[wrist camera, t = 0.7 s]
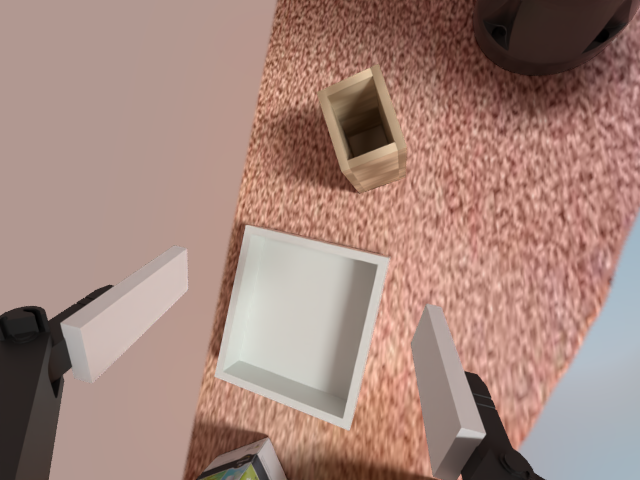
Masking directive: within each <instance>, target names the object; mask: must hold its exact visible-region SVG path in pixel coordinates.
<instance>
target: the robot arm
mask: <svg viewBox="0 0 640 480" xmlns="http://www.w3.org/2000/svg"><path fill="white" fill-rule="evenodd" d="M639 7H640V0H476V4H475V7H474V13H473V28H474V33H475V37H476V40H477V42H478V44H479V46H480V48H481V49H482V51H483V52H484V53H485V55H486V56H487V57H488V58H489V59H490V60H492V61H493V62H494V63H495V64H497V65H499V66H500V67H502V68H504V69H506V70H509V71H512V72H515V73H519V74H524V75H549V74H555V73H560V72H563V71H567V70H569V69H572V68H575V67H577V66H579V65H581V64H583V63H585V62H587V61H588V60H590V59H591V58H593V57H595V56H596V55H597V54H599V53H600V52H601V51H602V50H603V49H605V48H606V47H607V46H608V45H609V44H610V43H611V42H612V41H613V40H614V39H615V38H616V37H617V36H618V35H619V34H620V33H621V32H622V31H623V30H624V29H625V27H626V26H627V25H628V24H629V22H630V21H631V20H632V18H633V17H634V15H635V14H636V12H637V10H638V9H639ZM187 263H188V260H187V248H184V247H179V246H175V245H174V246H172V247H171V248H169V249H168V250H167V251H165V252H164V253H162V254H161V255H159V256H158V257H156V258H155V259H153V260H152V261H150V262H149V263H148V264H146V265H145V266H143V267H142V268H140V269H139V270H137V271H136V272H134V273H133V274H132V275H130V276H128V277H127V278H126V279H124V280H123V281H121V282H120V283H118V284H117V285H115V286H112V285H108V286H105V287H102V288H100V289H97V290H95V291H94V292H92V293H90V294H89V295H87V296H86V297H85V298H83V299H81V300H80V301H78V302H77V304H74V305H72V306H71V307H69V308H68V309H66V310H64V311H63V312H61V313H60V314H58V315H57V316H55V317H54V318H52V319H51V320H49V321H48V320H47V316H46V312H45V310H44V309H43V308H41V307H37V306H26V307H21V308H16V309H13V310H10V311H8V312H5V313H4V314H2V315H1V316H0V480H49V473H50V467H51V461H52V455H53V448H54V442H55V436H56V429H57V423H58V417H59V410H60V404H61V398H62V392H63V385H64V378H63V374H64V373H65V372H67V371H68V370H69V369H70V368H71V367H72V371H73V375H74V378H75V379H79V380H82V381H86V382H89V383H93V382H94V381H95V380H96V379H97V378H98V377H99V376H100V375H101V374H102V373H103V372H104V371H105V370H106V369H108V368H109V367H110V365H112V364H113V363H114V362H115V361H116V359H118V358H119V357H120V356H121V355H122V354H123V353H124V352H125V351H126V350H127V349H128V348H129V347H130V346H131V345H132V344H133V343H134V342H135V341H136V340H137V339H138V338H139V337H140V336H141V335H142V334H143V333H144V332H145V331H146V330H147V329H148V328H149V327H150V326H152V325H153V324H154V323H155V322H156V321H157V320H158V319H159V318H160V317H161V316H162V315H163V314H164V313H165V312H166V311H167V310H168V309H169V308H170V307H171V306H172V305H173V304H174V303H175V302H176V301H177V300H178V299H179V298H180V297H181V296H182V295H183V294H184V293H185V292H186V291H187V290H188V264H187ZM411 348H412V354H413V360H414V366H415V372H416V378H417V384H418V390H419V396H420V402H421V408H422V414H423V420H424V426H425V432H426V438H427V444H428V450H429V456H430V462H431V468H432V474H433V477H436V478H439V479H443V480H457V479H458V477H459V476H460V474H461V475H462V479H463V480H545V479H543V478H542V477H540V476H538V475H537V474H535V473H534V471H533V469H532V467H531V466H530V464H529V463H528V461H527V460H526V459H525V458H524V457H523V456H522V455H521V454H520V453H519V452H517V451H516V450H514V449H513V448H512V446H511V444H510V441H509V439H508V436H507V434H506V432H505V429H504V427H503V424H502V422H501V420H500V417H499V415H498V412H497V410H495V405H494V403H493V400H491V396H490V393H489V391H488V388H487V386H486V385H485V383H484V382H483V381H482V380H481V378H480V377H479V376H478V375H477V374H474V373H470V372H466V371H464V370H463V367H462V364H461V361H460V359H459V356H458V353H457V350H456V347H455V344H454V342H453V339H452V336H451V333H450V330H449V327H448V325H447V322H446V319H445V316H444V313H443V310H442V308H441V307H439V306H435V305H430V304H426V306H425V308H424V311H423V314H422V316H421V319H420V321H419V324H418V326H417V329H416V331H415V334H414V337H413V339H412V342H411Z"/></svg>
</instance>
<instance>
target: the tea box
mask: <svg viewBox="0 0 640 480" xmlns="http://www.w3.org/2000/svg"><path fill="white" fill-rule="evenodd" d="M196 480H287V478H286V476H285V474H284V471H283V469H282V467H281V464H280V462H279V460H278V458H277V455H276V453H275V450H274V448H273V446H272V443H271V441H270V439H269V437H267V438H264V439H261V440H259V441H257V442H254V443H252V444H249V445H246V446H243V447H241V448H238V449H236V450H233V451H230V452H227V453H225V454H222V455H220V456H218V457H217V458H215V459H214V460H213V461H212V462H211V463H210V465H209V466H208V467H207V468H206V469H205V470H204V471H203V472H202V474H201V475H200V476H199V477H198V478H197V479H196Z"/></svg>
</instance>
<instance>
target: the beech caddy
mask: <svg viewBox="0 0 640 480" xmlns="http://www.w3.org/2000/svg"><path fill="white" fill-rule="evenodd" d="M317 95H318V98H319V102H320V105H321V108H322V111H323V114H324V118H325V121H326V124H327V127H328V130H329V134H330V137H331V140H332V143H333V146H334V150H335V153H336V156H337V159H338V162H339V166H340V169H341V172H342V173H343V174H344V176H345V177H346V178H347V179H348V180H349V181H350V183H351V184H352V185H353V186H354V187H355V189H356V190H357V191H358V192H359V193H363V192H366V191H369V190H372V189H374V188H377V187H380V186H383V185H386V184H389V183H391V182H394V181H397V180H400V179H403V178H405V177H406V157H407V146H406V143H405V140H404V137H403V134H402V131H401V128H400V125H399V122H398V119H397V116H396V113H395V110H394V107H393V104H392V102H391V99H390V96H389V93H388V90H387V87H386V84H385V81H384V78H383V75H382V72H381V69H380V66H379V64H377V65H375V66H373V67H370V68H368V69H366V70H364V71H362V72H360V73H357V74H355V75H353V76H351V77H349V78H347V79H344V80H342V81H340V82H338V83H336V84H334V85H332V86H329V87H327V88H325V89H323V90H321V91H319V92H317Z"/></svg>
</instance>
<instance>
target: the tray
mask: <svg viewBox="0 0 640 480" xmlns="http://www.w3.org/2000/svg"><path fill="white" fill-rule="evenodd" d="M390 258H391V256H387V255H383V254H378V253H374V252H370V251H365V250H361V249H357V248H352V247H348V246H344V245H340V244H335V243H331V242H327V241H322V240H318V239H314V238H309V237H305V236H301V235H296V234H292V233H288V232H283V231H279V230H275V229H270V228H266V227H260V226H252V225H246V227H245V232H244V237H243V241H242V246H241V251H240V256H239V261H238V266H237V270H236V275H235V280H234V285H233V290H232V295H231V299H230V304H229V309H228V314H227V319H226V324H225V328H224V333H223V338H222V343H221V348H220V352H219V357H218V362H217V367H216V372H215V377H217V378H219V379H222V380H224V381H227V382H229V383H232V384H234V385H237V386H239V387H242V388H244V389H247V390H249V391H252V392H254V393H257V394H259V395H262V396H264V397H267V398H269V399H272V400H274V401H277V402H279V403H282V404H284V405H287V406H289V407H292V408H294V409H297V410H299V411H302V412H304V413H307V414H309V415H312V416H314V417H317V418H319V419H322V420H324V421H327V422H329V423H332V424H334V425H336V426H339V427H341V428H344V429H346V430H349V431H350V427H351V424H352V420H353V417H354V413H355V410H356V406H357V402H358V397H359V393H360V389H361V384H362V380H363V376H364V371H365V367H366V363H367V358H368V354H369V350H370V345H371V341H372V336H373V332H374V328H375V323H376V319H377V315H378V310H379V306H380V302H381V297H382V293H383V289H384V284H385V280H386V276H387V271H388V267H389V263H390Z"/></svg>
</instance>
